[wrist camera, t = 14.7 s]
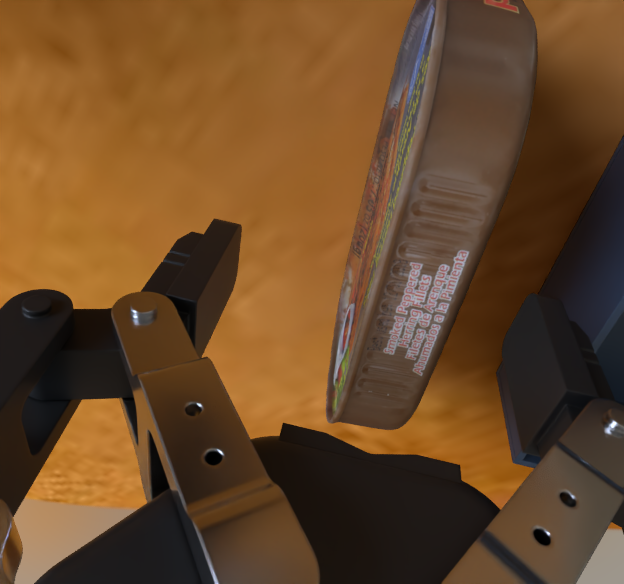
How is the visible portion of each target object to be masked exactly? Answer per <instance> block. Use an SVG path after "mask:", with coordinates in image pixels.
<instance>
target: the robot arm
mask: <svg viewBox="0 0 624 584" xmlns="http://www.w3.org/2000/svg"><path fill="white" fill-rule="evenodd" d="M241 232H242V227H241V225H240V224H236V223H232V222H227V221H223V220H219V219H214V220H213V221H212V222H211V224H210V226H209V227H208V229H207V230H206V232H205V233H204V234H200V233H195V232H190V233H189V234H187V235H185V236H183V237H181V238H180V239H178V240H177V241H176V243H175V244H174V245H173V247H172V248H171V250H170V252H169V253H168V254H167V255H166V257H165V258H164V260H163V262H161V264H160V265H159V267H158V268H157V269H156V271H155V272H154V274H153V275H152V276H151V278H150V279H149V281H148V282H147V283H146V285H145V286H144V288H143V289H142V290H141V292H135V293H131V294H128V295H126V296H124V297H122V298H120V299H119V300H118V301H117V302H116V303H115V304H114V305H113V307H112V308H109V309H73V304H72V301H71V299H70V298H69V297H68V296H67V295H65V294H64V293H61V292H59V291H55V290H49V289H38V290H31V291H27V292H24V293H21V294H18V295H16V296H14V297H13V298H11V299H10V300H9V301H8V302H7V303H5V305H4V306H3V307H2V308H1V309H0V584H14V581H15V576H16V573H17V570H18V567H19V564H20V562H21V559H22V553H23V552H22V551H23V548H22V542H21V539H20V536H19V534H18V531H17V528H16V525H15V522H14V519H13V517H14V515H15V513H16V511H17V509H18V507H19V506H20V505H21V502H22V501H23V499H24V498H25V496H26V494H27V493H28V491H29V489H30V487H31V486H32V484H33V482H34V481H35V479H36V477H37V476H38V474H39V472H40V470H41V469H42V467H43V465H44V464H45V462H46V460H47V458H48V457H49V455H50V453H51V452H52V450H53V448H54V446H55V445H56V443H57V441H58V440H59V438H60V436H61V434H62V433H63V431H64V429H65V428H66V426H67V424H68V423H69V421H70V419H71V417H72V416H73V414H74V412H75V411H76V409H77V407H78V405H79V404H80V402H81V400H82V399H107V398H119V400H120V403H121V406H122V409H123V413H124V416H125V419H126V423H127V426H128V429H129V432H130V436H131V439H132V442H133V445H134V449H135V452H136V455H137V459H138V464H139V469H140V475H141V480H142V484H143V489H144V493H145V496H146V500H147V504H145V505H144V506H142V507H141V508H139V509H138V510H136V511H135V512H133V513H132V514H130V515H129V516H127V517H126V518H124V519H123V520H121V521H120V522H118V523H117V524H115V525H114V526H112V527H111V528H109V529H108V530H107V531H105V532H104V533H102V534H101V535H99V536H98V537H96V538H95V539H93V540H92V541H90V542H89V543H87V544H86V545H84V546H83V547H81V548H80V549H78V550H77V551H75V552H74V553H72V554H71V555H69V556H68V557H66V558H65V559H63V560H62V561H60V562H59V563H57V564H56V565H55V566H53V567H52V568H51V569H49V570H48V571H47V572H46V573H45V574H44V575H43V576H41V577H40V578H39V579H38V580H37V581H36V582H35V583H34V584H576V582H577V581H578V579H579V577H580V575H581V574H582V572H583V570H584V568H585V567H586V565H587V563H588V561H589V560H590V558H591V556H592V554H593V553H594V551H595V549H596V547H597V545H598V544H599V542H600V540H601V539H602V537H603V535H604V533H605V532H606V530H607V528H608V526H609V525H610V523H611V522H613V523H614V524H616V525H618V526H620V527H622V530H623V533H624V405H622V404H620V403H618V402H616V401H615V398H614V396H613V394H612V391H611V389H610V386H609V384H608V382H607V379H606V377H605V375H604V372H603V370H602V367H601V365H599V360H598V358H597V356H596V354H595V353H594V348H593V346H592V344H591V341H590V339H589V337H588V335H587V334H586V333H585V332H584V331H583V330H582V329H581V327H580V326H579V325H578V324H577V323H576V322H574V321H570V320H569V318H568V315H567V313H566V310H565V308H564V305H563V303H562V301H561V300H560V299H556V298H551V297H547V296H543V295H538V294H534V293H531V294H529V295H528V296H527V298H526V299H525V301H524V303H523V304H522V306H521V308H520V310H519V312H518V313H517V315H516V317H515V319H514V321H513V323H512V324H511V326H510V328H509V330H508V332H507V333H506V336H505V338H504V341H503V346H502V358H503V363H504V368H505V373H506V377H507V382H508V387H509V392H510V397H511V402H512V406H513V411H514V416H515V421H516V426H517V431H518V435H519V440H520V445H521V450H522V453H525V454H530V455H534V456H538V457H540V458H541V461H540V462H539V464H538V465H537V466H536V467H535V468H534V470H533V471H532V472H531V473H530V475H529V476H528V477H527V478H526V480H525V481H524V482H523V483H522V485H521V486H520V487H519V488H518V489H517V491H516V492H515V493H514V494H513V496H512V497H511V498H510V499H509V501H508V502H507V503H506V504H505V506H504V507H503V508H502V509H501V510H500V509H499V508H498V507H497V506H496V505H495V504H494V503H493V502H492V501H491V500H490V499H489V498H487V497H486V496H485V495H484V494H482V493H481V492H480V491H478V490H477V489H475V488H474V487H472V486H471V485H469V484H467V483H465V482H463V481H462V480H461V471H460V465H457V464H453V463H449V462H445V461H441V460H437V459H432V458H428V457H424V456H420V455H397V454H370V453H367V452H365V451H363V450H360V449H358V448H356V447H354V446H352V445H350V444H348V443H346V442H344V441H342V440H340V439H337V438H335V437H333V436H331V435H329V434H327V433H324V432H319V431H315V430H311V429H307V428H303V427H298V426H294V425H290V424H286V423H283V425H282V429H281V433H280V436H267V437H259V438H255V439H250V438H249V435H248V433H247V431H246V429H245V427H244V425H243V423H242V421H241V419H240V417H239V415H238V413H237V411H236V409H235V407H234V405H233V403H232V401H231V399H230V397H229V395H228V393H227V391H226V389H225V387H224V385H223V383H222V381H221V379H220V377H219V375H218V373H217V371H216V369H215V367H214V365H213V363H212V361H211V360H210V359H209V358H208V357H204V358H201V357H202V355H203V353H204V351H205V348H206V346H207V344H208V342H209V340H210V338H211V336H212V334H213V331H214V329H215V327H216V325H217V323H218V321H219V319H220V317H221V314H222V312H223V310H224V308H225V306H226V304H227V302H228V299H229V297H230V295H231V293H232V291H233V288H234V285H235V281H236V277H237V271H238V261H239V252H240V242H241Z"/></svg>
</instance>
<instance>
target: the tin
mask: <svg viewBox="0 0 624 584" xmlns="http://www.w3.org/2000/svg"><path fill="white" fill-rule="evenodd" d="M537 57H538V51H537V29H536V26H535V22H534V19H533V17H532V15H531V14H530V12H529V10H528V9H527V7H526V5H525V4H524V2H523V1H522V0H416V3H415V5H414V8H413V10H412V12H411V15H410V17H409V20H408V23H407V26H406V29H405V32H404V35H403V39H402V42H401V46H400V49H399V53H398V56H397V60H396V64H395V69H394V73H393V76H392V80H391V84H390V88H389V91H388V95H387V99H386V103H385V107H384V111H383V115H382V120H381V124H380V128H379V132H378V136H377V140H376V145H375V149H374V153H373V157H372V161H371V165H370V169H369V173H368V177H367V182H366V186H365V190H364V194H363V198H362V202H361V206H360V210H359V214H358V218H357V222H356V226H355V230H354V234H353V239H352V243H351V247H350V251H349V255H348V260H347V264H346V269H345V274H344V279H343V284H342V289H341V294H340V299H339V304H338V311H337V315H336V323H335V328H334V337H333V343H332V351H331V361H330V367H329V374H328V387H327V399H326V401H327V402H326V417H327V421H328V422H329V423H336V422H343V423H349V424H354V425H360V426H366V427H371V428H377V429H385V430H394V429H398V428H400V427H402V426H403V425H404V424H406V422H407V421H408V420H409V419H410V418H411V416H412V415H413V413H414V412H415V410H416V409H417V407H418V405H419V403H420V401H421V398H422V396H423V394H424V391H425V389H426V387H427V385H428V382H429V380H430V378H431V375H432V373H433V371H434V369H435V366H436V364H437V362H438V359H439V357H440V355H441V353H442V350H443V347H444V345H445V343H446V341H447V338H448V336H449V333H450V331H451V329H452V327H453V325H454V322H455V320H456V317H457V314H458V312H459V310H460V307H461V305H462V303H463V300H464V298H465V296H466V293H467V291H468V288H469V286H470V283H471V281H472V279H473V276H474V274H475V272H476V269H477V267H478V264H479V262H480V259H481V257H482V255H483V252H484V250H485V248H486V245H487V242H488V240H489V237H490V235H491V233H492V230H493V228H494V225H495V223H496V220H497V218H498V216H499V213H500V211H501V208H502V206H503V203H504V201H505V198H506V196H507V193H508V190H509V187H510V184H511V182H512V179H513V176H514V173H515V170H516V167H517V163H518V160H519V156H520V153H521V149H522V146H523V142H524V138H525V134H526V130H527V127H528V123H529V119H530V113H531V107H532V101H533V95H534V89H535V83H536V73H537Z"/></svg>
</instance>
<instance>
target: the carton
mask: <svg viewBox="0 0 624 584" xmlns="http://www.w3.org/2000/svg"><path fill="white" fill-rule="evenodd" d="M538 295H543V296H547V297H551V298H556V299H560V300H561V301H562V303H563V305H564V308H565V310H566V313H567V315H568V318H569V320H570V321H574V322H576V323H577V324H578V325H579V326H580V327H581V329H582V330H583V331H584V332H585V333H586V334H587V335H588V337H589V339H590V341H591V344H592V346H593V348H594V353H595V354H596V356H597V358H598V360H599V365H601V367H602V370H603V372H604V375H605V377H606V379H607V382H608V384H609V386H610V389H611V391H612V394H613V396H614V398H615V401H616V402H618V403H620V404H622V405H624V136H623V138H622V139H621V141H620V143H619V145H618V147H617V149H616V151H615V152H614V154H613V156H612V158H611V160H610V162H609V164H608V165H607V167H606V169H605V171H604V173H603V175H602V177H601V179H600V180H599V182H598V184H597V186H596V188H595V190H594V192H593V193H592V195H591V197H590V199H589V201H588V203H587V205H586V206H585V208H584V210H583V212H582V214H581V216H580V218H579V219H578V221H577V223H576V225H575V227H574V229H573V231H572V232H571V234H570V236H569V238H568V240H567V242H566V244H565V246H564V247H563V249H562V251H561V253H560V255H559V257H558V259H557V260H556V262H555V264H554V266H553V268H552V270H551V272H550V273H549V275H548V277H547V279H546V281H545V283H544V285H543V286H542V288H541V290H540V292H539V294H538ZM496 375H497V380H498V386H499V391H500V396H501V402H502V407H503V412H504V418H505V423H506V428H507V434H508V439H509V444H510V450H511V455H512V460H513V463H515V464H520V465H524V466H528V467H532V468H535V467H536V466H537V465H538V464H539V462H540V461H541V458H540V457H538V456H534V455H530V454H525V453H522V450H521V445H520V440H519V435H518V431H517V426H516V421H515V416H514V411H513V406H512V402H511V397H510V392H509V387H508V382H507V377H506V373H505V368H504V363H503V361H502V363H501V365H500V366H499V368H498V370H497V372H496Z"/></svg>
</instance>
